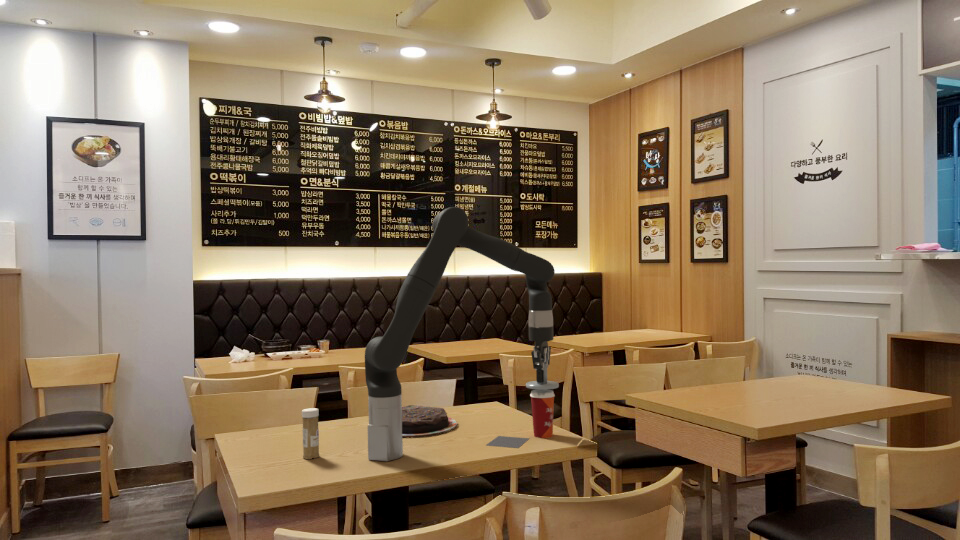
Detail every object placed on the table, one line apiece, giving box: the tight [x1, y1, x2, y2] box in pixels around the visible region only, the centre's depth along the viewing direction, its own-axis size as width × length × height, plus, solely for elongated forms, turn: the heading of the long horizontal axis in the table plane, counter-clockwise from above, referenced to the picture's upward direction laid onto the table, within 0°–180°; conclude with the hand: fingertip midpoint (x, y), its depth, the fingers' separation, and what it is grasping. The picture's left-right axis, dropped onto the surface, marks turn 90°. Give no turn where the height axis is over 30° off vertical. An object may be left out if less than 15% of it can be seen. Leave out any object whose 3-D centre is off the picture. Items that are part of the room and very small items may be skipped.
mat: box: [485, 435, 530, 449], centre depth 188 cm, size 11×10×1 cm
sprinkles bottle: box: [301, 407, 320, 460], centre depth 178 cm, size 5×5×13 cm
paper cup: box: [529, 389, 556, 439], centre depth 195 cm, size 8×8×14 cm
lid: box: [525, 363, 560, 390], centre depth 195 cm, size 10×10×7 cm
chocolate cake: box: [402, 404, 458, 439], centre depth 211 cm, size 28×28×7 cm
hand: (542, 381), depth 195 cm, fingers closed on lid, 3 cm apart
